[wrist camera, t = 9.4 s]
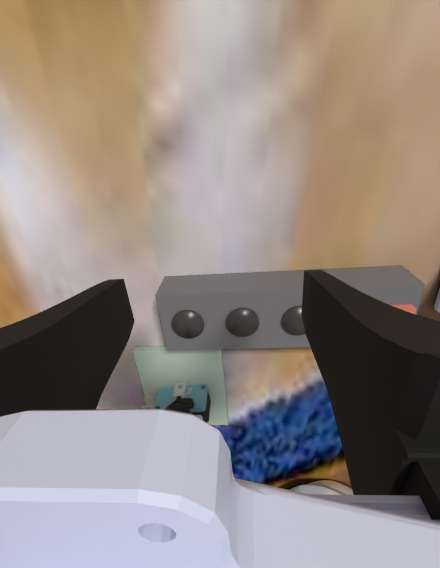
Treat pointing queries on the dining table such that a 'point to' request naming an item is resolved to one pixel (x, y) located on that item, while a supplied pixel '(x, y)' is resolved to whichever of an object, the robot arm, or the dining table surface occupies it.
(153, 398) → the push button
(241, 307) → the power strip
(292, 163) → the dining table surface
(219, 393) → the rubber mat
